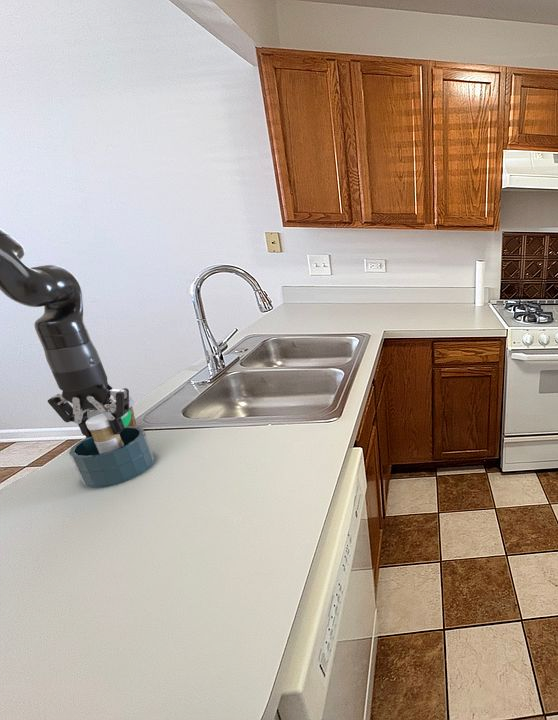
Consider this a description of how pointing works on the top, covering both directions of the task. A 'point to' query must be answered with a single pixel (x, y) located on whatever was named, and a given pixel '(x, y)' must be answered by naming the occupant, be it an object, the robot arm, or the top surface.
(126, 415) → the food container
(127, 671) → the top surface
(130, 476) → the pot
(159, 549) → the top surface
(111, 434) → the sprinkles bottle
